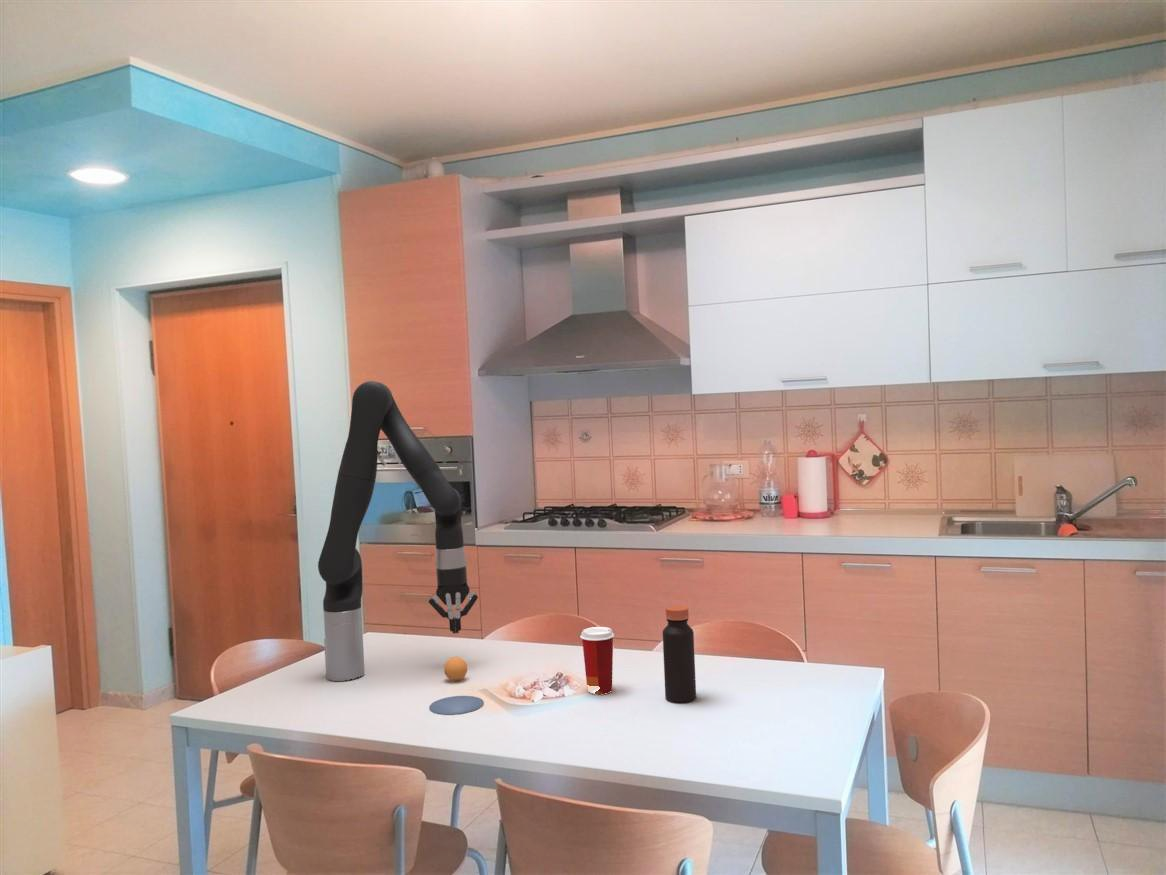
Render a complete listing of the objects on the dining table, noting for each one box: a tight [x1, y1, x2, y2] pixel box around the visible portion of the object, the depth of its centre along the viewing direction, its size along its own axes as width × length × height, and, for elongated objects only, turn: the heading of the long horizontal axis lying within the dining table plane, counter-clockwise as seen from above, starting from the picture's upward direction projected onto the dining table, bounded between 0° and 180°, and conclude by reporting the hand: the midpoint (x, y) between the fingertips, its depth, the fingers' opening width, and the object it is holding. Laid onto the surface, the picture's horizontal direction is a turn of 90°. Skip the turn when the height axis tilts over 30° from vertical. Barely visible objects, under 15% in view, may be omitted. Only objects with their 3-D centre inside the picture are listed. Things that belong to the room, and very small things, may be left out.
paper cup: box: [579, 626, 615, 695], centre depth 197 cm, size 8×8×14 cm
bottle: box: [662, 605, 697, 704], centre depth 189 cm, size 7×7×20 cm
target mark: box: [428, 695, 485, 716], centre depth 191 cm, size 12×12×1 cm
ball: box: [443, 656, 468, 682], centre depth 210 cm, size 6×6×6 cm
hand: (455, 632), depth 220 cm, fingers closed
